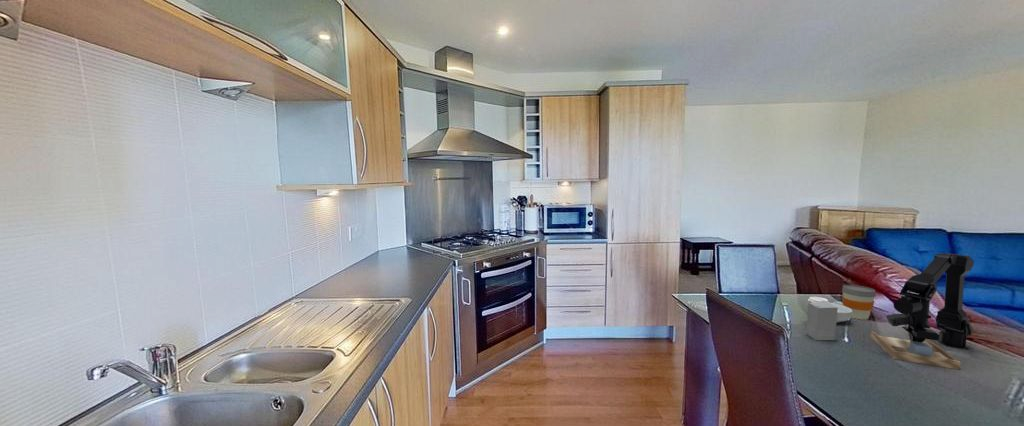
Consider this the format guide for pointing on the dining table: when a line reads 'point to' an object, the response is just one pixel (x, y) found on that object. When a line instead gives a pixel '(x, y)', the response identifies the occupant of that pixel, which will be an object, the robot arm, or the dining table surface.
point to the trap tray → (937, 358)
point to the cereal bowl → (843, 312)
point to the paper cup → (817, 299)
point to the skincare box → (821, 320)
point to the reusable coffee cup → (858, 300)
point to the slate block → (920, 348)
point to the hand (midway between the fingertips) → (914, 347)
